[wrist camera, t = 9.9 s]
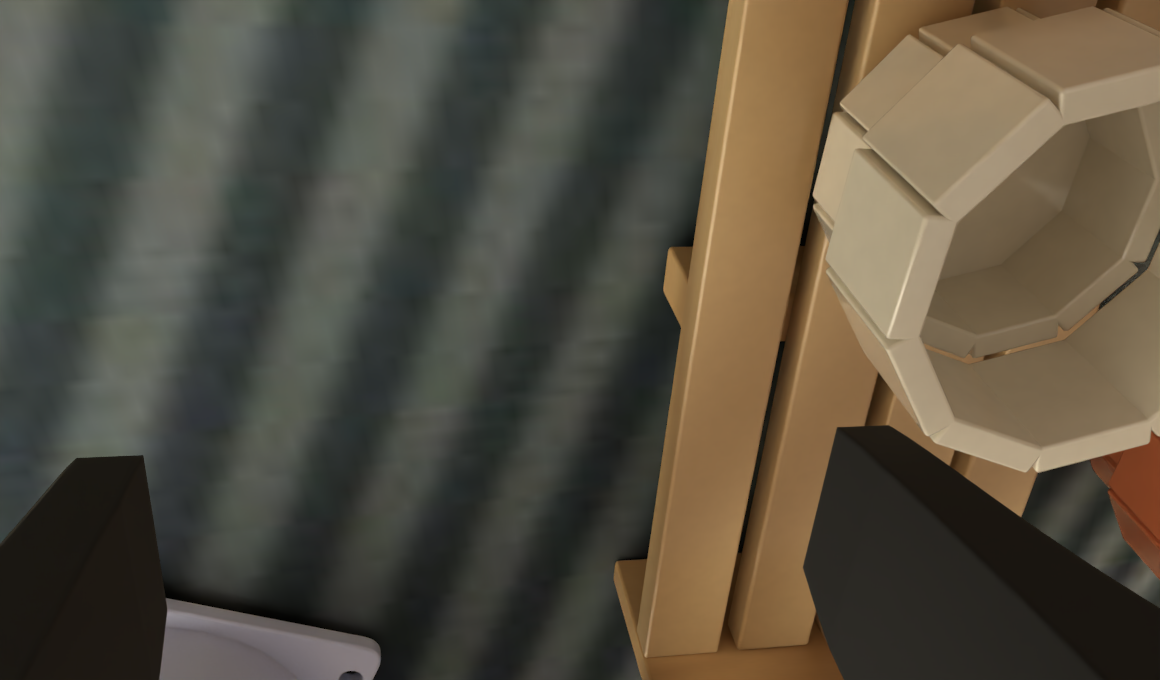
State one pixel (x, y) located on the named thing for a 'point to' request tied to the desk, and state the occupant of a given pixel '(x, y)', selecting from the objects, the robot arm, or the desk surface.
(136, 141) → the desk surface
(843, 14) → the bowl rack
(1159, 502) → the terracotta bowl
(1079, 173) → the cream bowl
